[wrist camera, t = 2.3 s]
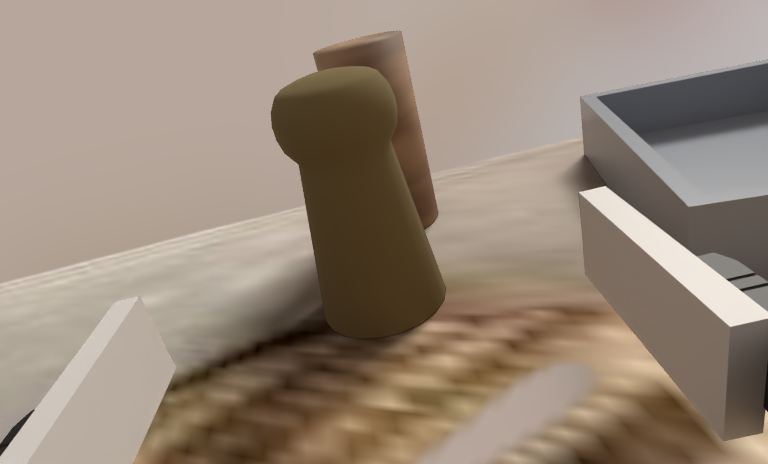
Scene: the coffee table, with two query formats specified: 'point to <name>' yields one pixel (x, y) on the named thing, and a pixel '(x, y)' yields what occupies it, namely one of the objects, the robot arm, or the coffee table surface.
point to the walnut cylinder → (407, 138)
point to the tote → (690, 157)
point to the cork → (358, 202)
